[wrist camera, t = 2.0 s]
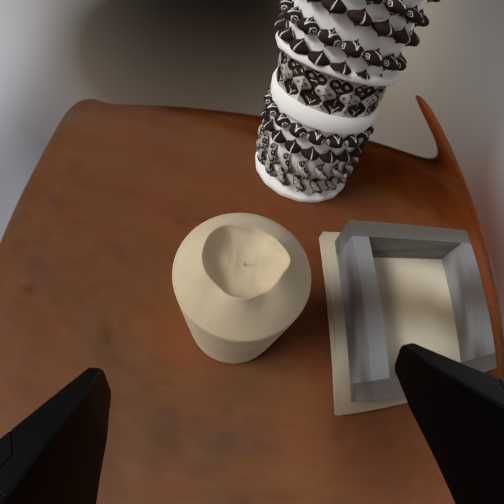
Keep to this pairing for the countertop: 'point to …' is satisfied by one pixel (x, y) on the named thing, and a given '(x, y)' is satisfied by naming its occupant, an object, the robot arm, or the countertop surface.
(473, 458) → the robot arm
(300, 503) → the countertop surface
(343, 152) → the decorative candle
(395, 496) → the countertop surface
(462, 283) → the square tray
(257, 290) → the candle
